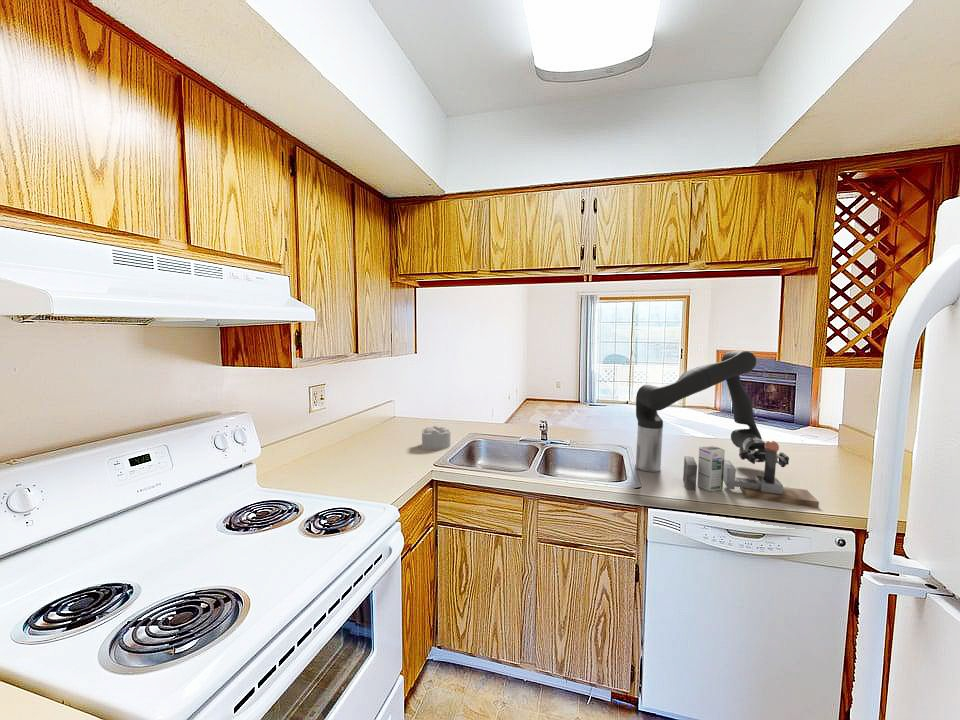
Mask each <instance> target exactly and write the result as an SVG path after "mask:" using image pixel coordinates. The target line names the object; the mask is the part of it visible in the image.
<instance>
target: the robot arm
mask: <svg viewBox="0 0 960 720" xmlns="http://www.w3.org/2000/svg"><path fill="white" fill-rule="evenodd" d="M756 365H757V357H756V356H755V354H753V353H752V352H750V351H747V350H734V351H733V350H731V351H727V352H725V353H724V354H723V355H722V357H721V361H719V362H718V361H717V362H713V363H708V364H704V365H700V366H696V367H694V368H691V369H688V370H687V371H685V372H683V373H682V374H681V375H680V376H679V378H678V379H677V380H676V381H675V382H673V383H670V384H668V385H664V386H656V385H652V384H644V385H642V386H640V387H639V389H638V390H637V392H636V397H635V417H636V420H637V436H636V452H635V453H636V454H635V469H636V470H641V471H645V472H653V473H655V472H659V471H661V467H662V464H661V463H662V448H663V431H664V430H663V428H664V421H663V419H662V417H660V415H659V414H658V412H659V411H662V410H665V409H666V408H669V407H670V406H671V405H673V404H676V403H677V402H678V401H680V400H683V399H685V398H688V397H690V396H692V395H695V394H698V393H701V392H703V391H704V390H707V389H709V388H711V387H713V386H716V385H718V384H721V383H722V382H724V381H726V384H727V385H726V386H727V387H728V392H729V395H730V398H731V404H732V405H731V406H732V413H733V420H734V422H735V423H736V424H739V425H745V426H748V428H739V429H738V428H737V429H735V430H732V432H731V434H730V440H731V442H732V444H733V445H734V446H735V447H737V448H739V450H738V451H739V452H738V456H739V458H740V459H741V460H747V461H748V462H750V463H751V464H752V465H755V464H756V463H765V457H766V449H765V443H766V442H765V441H764V440H763V438H762V436H761V435H762V434H761V433H760V431H759V429H758V427H757V424H756V422H755V417H754V409H753V402H752V400H751V398H750V395H748V393H747V391H746V390H745V388H744V386H743V383H742V382H741V375H745V374H747V373H750V372H751V371H753V370H754V369H755V367H756ZM789 462H790V457H789V456H788V455H787V454H786V453H784V452H779V454H778V453H777V457H776V464H778V465H779V466H780V467H781V468H785V467H786V466H788V465H789Z"/></svg>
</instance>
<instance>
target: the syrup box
mask: <svg viewBox="0 0 960 720" xmlns="http://www.w3.org/2000/svg"><path fill="white" fill-rule="evenodd" d="M725 453H726V451H725V449H723V448H720V447H718V446H714V445H710V446H699V447H698V462H697V463H698V464H697V486H698V487H700V488H702V489H704V490H705V491H707V492H714V491H723V490H724V481H723V474H724V460H725Z"/></svg>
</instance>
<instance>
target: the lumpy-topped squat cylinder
mask: <svg viewBox="0 0 960 720" xmlns="http://www.w3.org/2000/svg"><path fill="white" fill-rule="evenodd" d="M450 447H451V430H449V429H447V428H445V427H443V426H440V427H439V426H438V425H435V426H434V425H433V426H432V427H429V426H428V427H426V428H424V429H422V432H421V449H422V450H426V451H433V450H434V451H435V450H436V451H437V450H446V449H448V448H450Z"/></svg>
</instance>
